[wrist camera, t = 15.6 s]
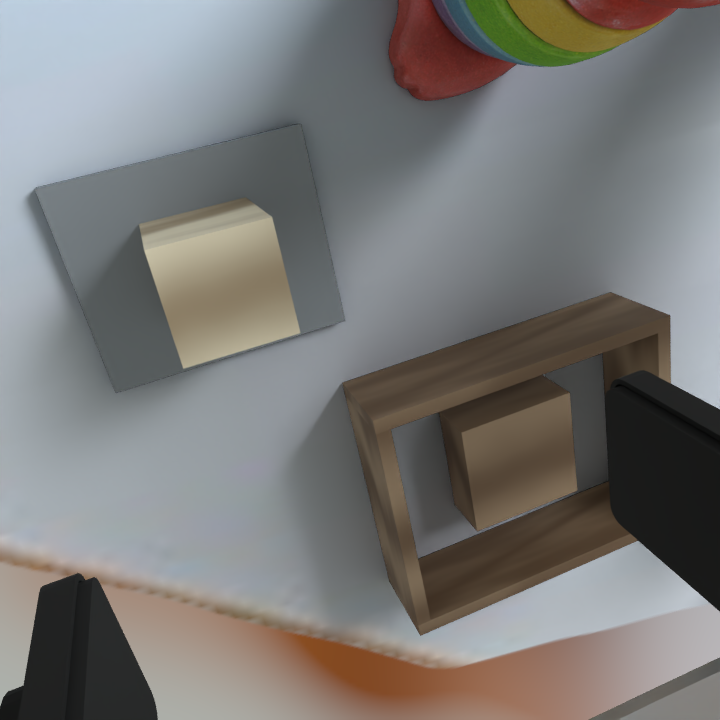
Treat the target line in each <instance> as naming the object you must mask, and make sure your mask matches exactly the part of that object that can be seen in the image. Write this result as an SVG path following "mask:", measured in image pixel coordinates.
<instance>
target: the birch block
mask: <svg viewBox="0 0 720 720" xmlns="http://www.w3.org/2000/svg"><path fill="white" fill-rule="evenodd" d="M139 227H140V232H141V237H142V242H143V247H144V251H145V254H146V257H147V260H148V263H149V266H150V269H151V272H152V275H153V278H154V281H155V284H156V288H157V291H158V294H159V297H160V300H161V303H162V306H163V309H164V312H165V315H166V318H167V321H168V324H169V327H170V330H171V333H172V336H173V339H174V342H175V345H176V348H177V351H178V354H179V357H180V360H181V363H182V366H183V369H184V368H188V367H191V366H194V365H197V364H201V363H204V362H207V361H211V360H214V359H217V358H221V357H224V356H227V355H230V354H234V353H237V352H240V351H244V350H247V349H250V348H253V347H257V346H260V345H263V344H267V343H270V342H273V341H276V340H280V339H283V338H286V337H290V336H293V335H296V334H300V329H299V325H298V321H297V317H296V313H295V308H294V304H293V300H292V296H291V292H290V288H289V284H288V280H287V276H286V272H285V268H284V263H283V259H282V255H281V251H280V247H279V243H278V239H277V235H276V231H275V227H274V223H273V218H272V216H270V215H269V214H267V213H266V212H265V211H263V210H262V209H261V208H259V207H258V206H257V205H255V204H254V203H253V202H251V201H250V200H249V199H247V198H246V197H245V198H241V199H237V200H233V201H229V202H225V203H221V204H217V205H213V206H209V207H205V208H201V209H197V210H193V211H189V212H185V213H181V214H177V215H173V216H169V217H165V218H161V219H157V220H153V221H149V222H145V223H141V224H139Z"/></svg>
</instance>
